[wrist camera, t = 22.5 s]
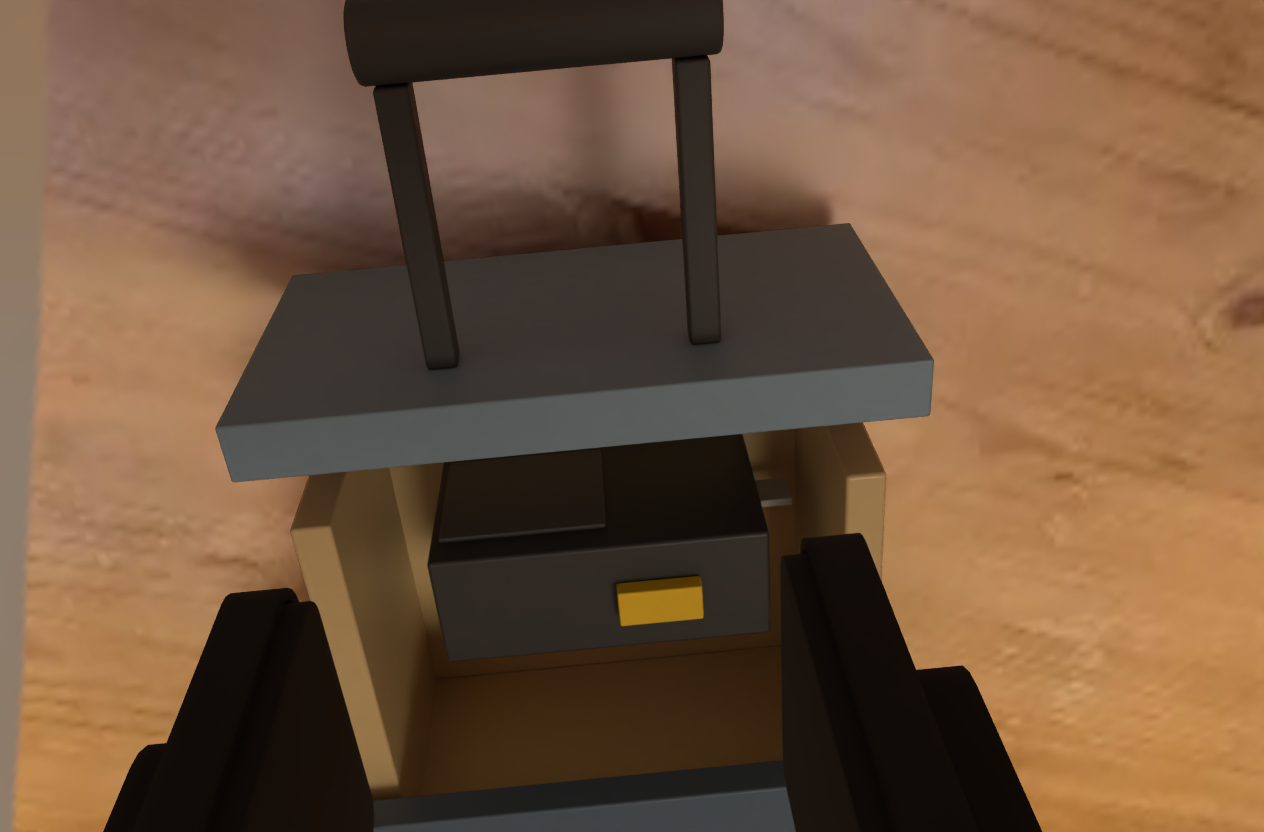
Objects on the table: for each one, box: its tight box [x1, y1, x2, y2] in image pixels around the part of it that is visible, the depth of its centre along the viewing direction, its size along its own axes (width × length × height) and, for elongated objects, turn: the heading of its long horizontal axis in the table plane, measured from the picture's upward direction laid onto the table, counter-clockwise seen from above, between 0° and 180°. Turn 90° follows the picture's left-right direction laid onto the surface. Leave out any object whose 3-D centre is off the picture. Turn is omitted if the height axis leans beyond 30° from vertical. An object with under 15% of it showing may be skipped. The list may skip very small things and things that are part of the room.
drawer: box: [215, 0, 934, 800], centre depth 24 cm, size 19×13×7 cm
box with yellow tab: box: [427, 434, 792, 662], centre depth 26 cm, size 3×8×5 cm, turn 94°
